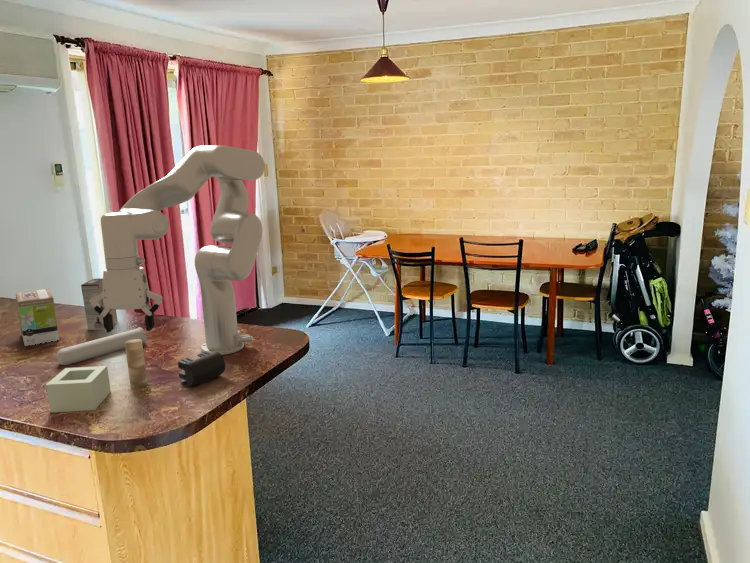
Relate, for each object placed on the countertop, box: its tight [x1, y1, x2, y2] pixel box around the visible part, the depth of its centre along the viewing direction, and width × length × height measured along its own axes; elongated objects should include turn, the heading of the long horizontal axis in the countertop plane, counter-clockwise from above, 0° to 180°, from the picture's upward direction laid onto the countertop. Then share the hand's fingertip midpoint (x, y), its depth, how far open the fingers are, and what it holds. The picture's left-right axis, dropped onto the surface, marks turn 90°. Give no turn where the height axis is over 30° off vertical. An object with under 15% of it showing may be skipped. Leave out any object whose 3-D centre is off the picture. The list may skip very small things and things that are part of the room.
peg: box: [124, 339, 148, 390], centre depth 143 cm, size 4×4×12 cm
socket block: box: [45, 365, 112, 413], centre depth 135 cm, size 10×10×7 cm
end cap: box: [177, 352, 226, 388], centre depth 146 cm, size 10×7×7 cm
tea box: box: [15, 288, 60, 347], centre depth 182 cm, size 15×10×15 cm
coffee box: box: [80, 277, 119, 331], centre depth 192 cm, size 9×6×16 cm
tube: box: [55, 326, 147, 366], centre depth 167 cm, size 5×5×25 cm
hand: (129, 330), depth 140 cm, fingers open, 9 cm apart
